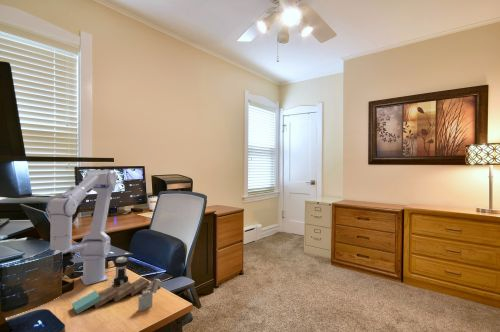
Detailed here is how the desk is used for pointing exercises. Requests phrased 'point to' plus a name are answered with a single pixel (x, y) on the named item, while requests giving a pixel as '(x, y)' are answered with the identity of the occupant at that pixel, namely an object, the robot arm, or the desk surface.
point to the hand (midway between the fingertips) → (60, 276)
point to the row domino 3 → (139, 285)
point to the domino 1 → (86, 302)
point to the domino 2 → (148, 287)
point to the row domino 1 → (106, 296)
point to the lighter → (148, 296)
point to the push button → (120, 271)
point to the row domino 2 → (123, 291)
